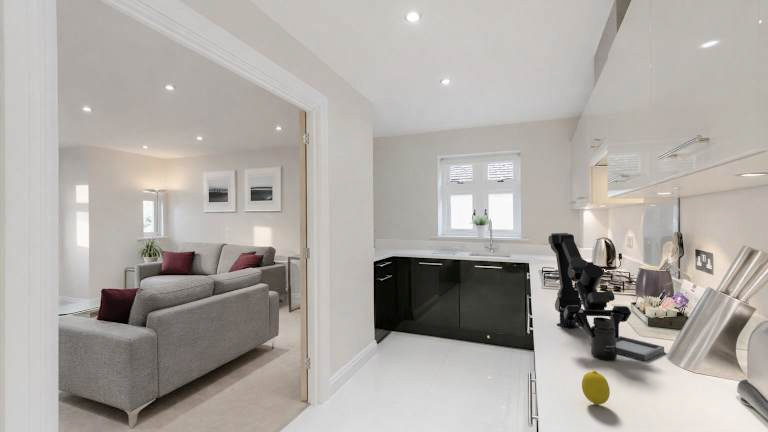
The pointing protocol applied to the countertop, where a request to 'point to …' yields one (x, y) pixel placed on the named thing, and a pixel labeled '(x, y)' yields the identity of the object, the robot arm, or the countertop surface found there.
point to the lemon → (595, 387)
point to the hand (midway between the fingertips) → (605, 337)
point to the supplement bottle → (603, 339)
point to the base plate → (637, 348)
